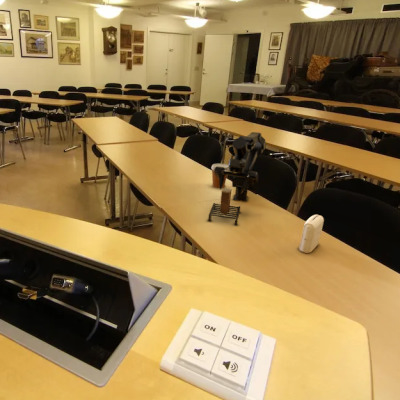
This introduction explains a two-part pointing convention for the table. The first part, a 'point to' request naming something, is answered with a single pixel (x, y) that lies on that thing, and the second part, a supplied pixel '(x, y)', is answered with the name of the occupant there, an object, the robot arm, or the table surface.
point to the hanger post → (225, 200)
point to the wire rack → (224, 214)
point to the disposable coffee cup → (215, 178)
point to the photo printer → (311, 233)
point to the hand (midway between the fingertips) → (230, 191)
